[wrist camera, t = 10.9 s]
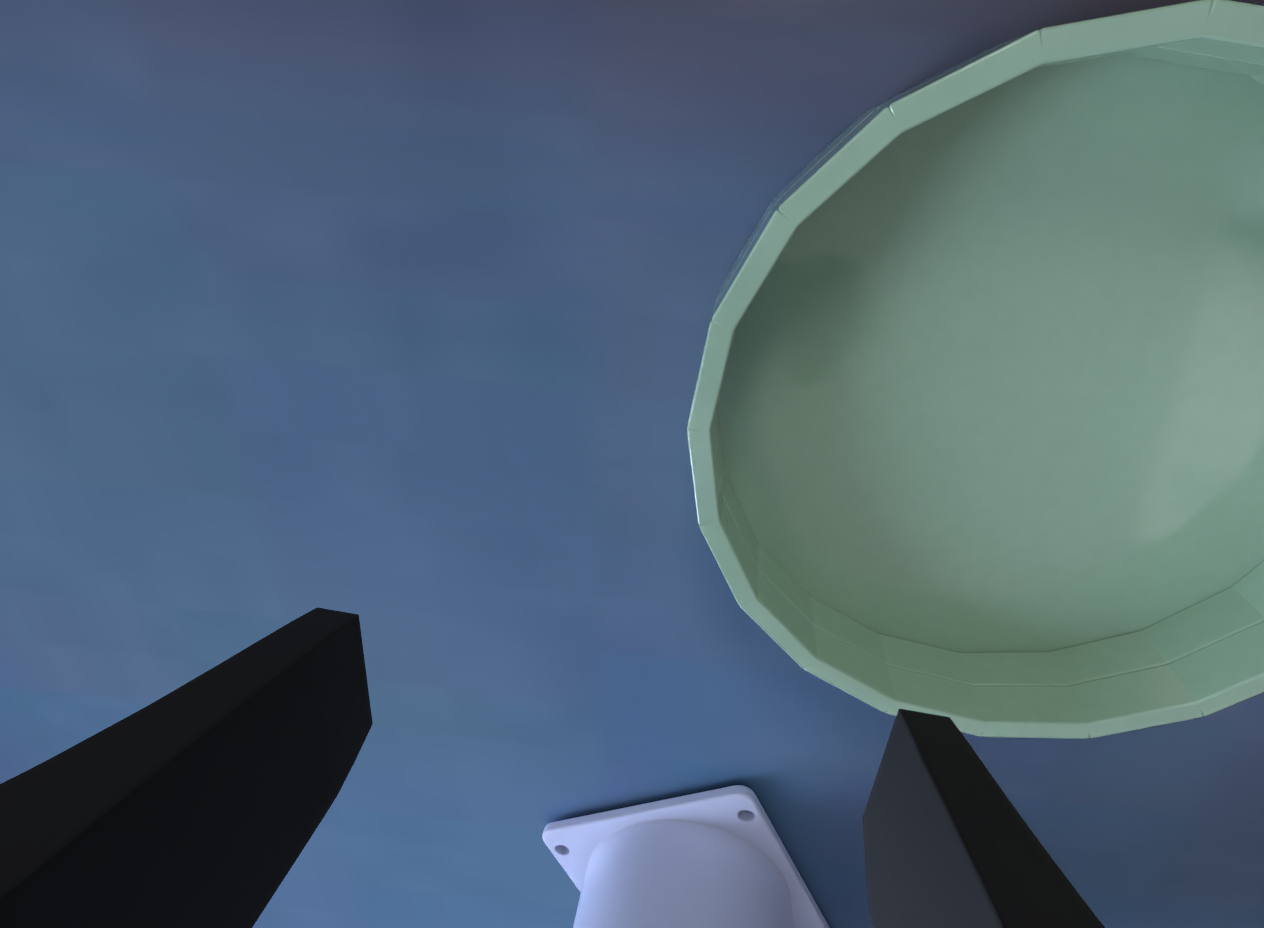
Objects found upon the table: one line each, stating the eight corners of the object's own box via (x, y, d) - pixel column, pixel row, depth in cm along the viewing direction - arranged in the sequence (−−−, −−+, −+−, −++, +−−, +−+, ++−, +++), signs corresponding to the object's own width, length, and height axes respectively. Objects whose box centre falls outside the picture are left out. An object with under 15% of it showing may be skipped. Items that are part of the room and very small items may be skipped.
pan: (1436, 561, 16) (1574, 648, 13) (820, 704, 21) (830, 789, 18) (1379, -152, 11) (1576, -244, 8) (599, 245, 16) (567, 267, 13)
